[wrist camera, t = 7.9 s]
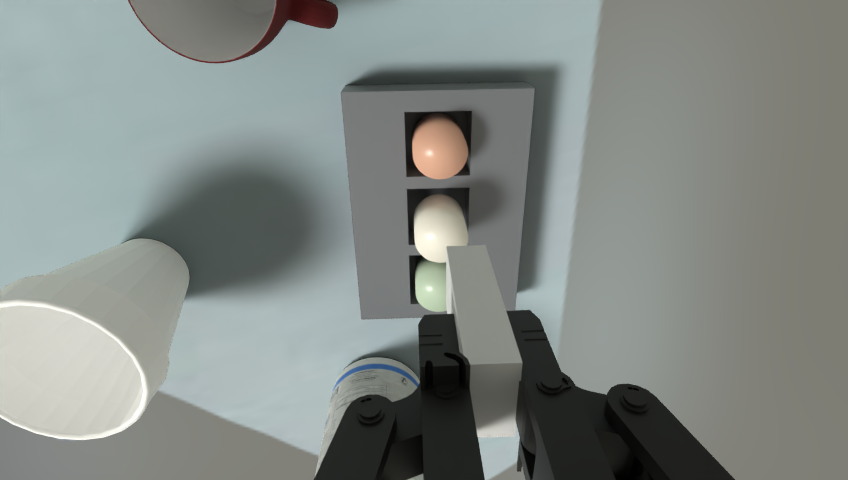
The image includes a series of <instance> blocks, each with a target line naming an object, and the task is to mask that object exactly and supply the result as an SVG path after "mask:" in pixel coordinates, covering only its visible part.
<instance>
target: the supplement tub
mask: <svg viewBox="0 0 848 480" xmlns="http://www.w3.org/2000/svg"><path fill="white" fill-rule="evenodd" d="M419 383H420V381H419V379H418V377H417V376H416V375H415V373H414V372H413V371H412V370H411V369H410V368H408V367H407V366H406V365H404V364H402V363H401V362H398V361H396V360H393V359H388V358H381V357H374V358H366V359H362V360H359V361H356V362H354V363H352V364H351V365H349V366H348V367H346V368H345V369H344V370H343V371H342V372H341V373H340V374H339V376H338V377H337V379H336V381H335V384H334V388H333V392H332V397H331V402H330V406H329V411H328V416H327V421H326V425H325V430H324V435H323V440H322V445H321V450H320V455H319V459H318V464H317V469H316V474H317V472H318V469H319V467H320V465H321V463H322V461H323V458H324V456H325V454H326V452H327V450H328V447H329V445H330V443H331V441H332V439H333V437H334V434H335V432H336V430H337V428H338V426H339V423H340V421H341V419H342V417H343V415H344V412H345V410H346V409H347V407H348V406H349V405H350V403H351V402H353V401H354V400H356V399H357V398H359V397H362V396H365V395H374V394H378V395H381V396H384V397H387V398H388V399H389V400H390V401H392V402H394V401H397V400H400V399H403V398H405V397H407V396H409V395H410V394H412V393H413V392H414V391H415V390H416V389H417V387H418V385H419ZM316 474H315V476H316ZM408 480H423V474H421V475H418V476H416V477H413V478H410V479H408Z"/></svg>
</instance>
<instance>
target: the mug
mask: <svg viewBox="0 0 848 480" xmlns="http://www.w3.org/2000/svg"><path fill="white" fill-rule="evenodd" d="M128 1H129V3H130V5H131V7H132V9H133V11H134V12H135V14H136V16H137V17H138V19H139V20H140V21H141V23H142V24H143V25H144V26H145V28H146V29H147V30H148V31H149V32H150V33H151V34H152V35H153V36H154V37H155V38H156V39H157V40H158V41H159V42H161V43H162V44H163V45H165V46H166V47H167V48H169V49H170V50H172V51H174V52H176V53H177V54H179V55H182V56H184V57H186V58H189V59H192V60H195V61H199V62H205V63H226V62H231V61H235V60H239V59H242V58H245V57H248V56H250V55H253V54H255V53H257V52H258V51H260V50H262V49H263V48H264V47H266V46H267V45H268V44H269V43H270V42H271V41H272V40H273V39H274V38H275V37H276V36H277V35H278V33H279V32H280V30H281V29H282V27H283V26H284V24H285V23H286V22H287V20H293V21H297V22H300V23H303V24H306V25H310V26H314V27H319V28H326V29H330V28H332V27H334V26H335V24H336V22H337V19H338V9H337V7H336V5H335V4H333V3H331V2H329V1H327V0H128Z"/></svg>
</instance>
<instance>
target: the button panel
mask: <svg viewBox="0 0 848 480" xmlns="http://www.w3.org/2000/svg"><path fill="white" fill-rule="evenodd" d="M534 93H535V88H534V87H532V86H531V85H529V84H528V83H527V82H493V83H443V84H393V85H346V86H345V87H344V88H343V90H342V91H341V101H342V112H343V123H344V134H345V144H346V155H347V166H348V177H349V188H350V199H351V210H352V221H353V232H354V243H355V254H356V265H357V276H358V287H359V298H360V309H361V319H392V318H423V316H424V315H430V314H447V311H443V312H434V311H430V310H427V309H426V308H424V307H423V306H421V305H420V303H419V302H418V300H417V298H416V291H415V263H416V261H417V259H418V258H419V256H420V255H421V254H420V253H419V252H418V250H417V248H416V246H415V238H414V212H415V209H416V207H417V205H418V204H419V203H420V202H421V201H422V200H423V199H424V198H426V197H428V196H431V195H435V194H443V195H447V196H450V197H452V198H453V199H455V200H456V201H457V202H458V203H459V205H460V207H461V209H462V212H463V216H464V220H465V224H466V227H467V231H468V244H467V246H470V245H486V249H487V252H488V255H489V258H490V261H491V264H492V268H493V271H494V274H495V277H496V280H497V283H498V287H499V290H500V293H501V296H502V299H503V302H504V305H505V309H506V311H515V306H516V295H517V283H518V272H519V261H520V250H521V239H522V227H523V216H524V205H525V194H526V183H527V171H528V160H529V149H530V138H531V126H532V115H533V104H534ZM433 113H442V114H446V115H448V116H450V117H452V118H453V119H454V120H455V121H456V122H457V123H458V125H459V126H460V128H461V131H462V133H463V136H464V138H465V140H466V143H467V147H468V157H467V160H466V163H465V165H464V166H463V168H462V169H461V170H460V171H459V172H458V173H457V174H456V175H454V176H452V177H450V178H447V179H433V178H430V177H427V176H425V175H424V174H423V173H421V172H420V171H419V170H418V168H417V167H416V165H415V163H414V160H413V152H412V134H413V130H414V128H415V126H416V124H417V123H418V122H419V121H420V120H421V119H422V118H423V117H425V116H427V115H429V114H433Z"/></svg>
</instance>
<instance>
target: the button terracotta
mask: <svg viewBox="0 0 848 480" xmlns="http://www.w3.org/2000/svg"><path fill="white" fill-rule="evenodd" d="M412 152H413V160H414V163H415V165H416V167H417V168H418V170H419V171H420V172H421V173H423V174H424V175H425V176H427V177H430V178H433V179H447V178H450V177H452V176H454V175H456V174H457V173H458V172H459V171H460V170H461V169H462V168H463V166H464V165H465V163H466V160H467V157H468V147H467V143H466V140H465V138H464V136H463V133H462V131H461V128H460V126H459V125H458V123H457V122H456V121H455V120H454V119H453V118H452V117H450V116H448V115H446V114H442V113H433V114H429V115H427V116H425V117H423V118H422V119H421V120H420V121H419V122H418V123H417V124H416V126H415V128H414V130H413V134H412Z"/></svg>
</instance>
